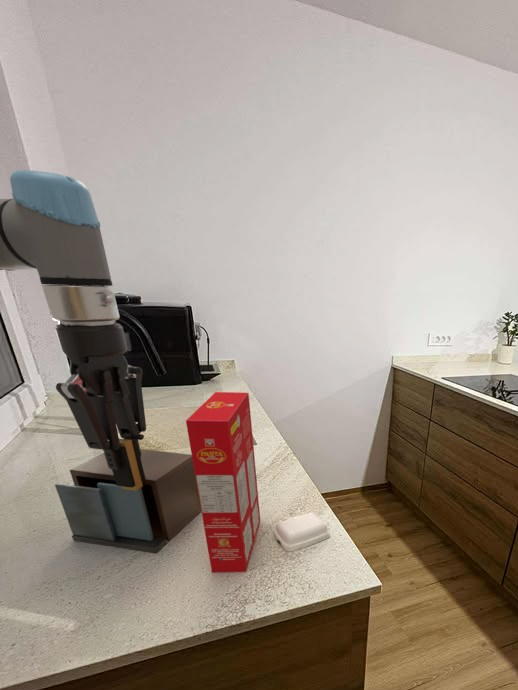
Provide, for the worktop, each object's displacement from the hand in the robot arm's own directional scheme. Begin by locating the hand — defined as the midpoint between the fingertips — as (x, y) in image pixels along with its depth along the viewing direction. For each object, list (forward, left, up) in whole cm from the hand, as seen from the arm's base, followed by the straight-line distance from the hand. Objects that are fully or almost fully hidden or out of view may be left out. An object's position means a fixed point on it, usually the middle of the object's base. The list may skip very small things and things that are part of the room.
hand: (131, 482), depth 61 cm
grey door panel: (-3, 0, -11) cm, 11 cm away
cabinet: (-5, +5, -12) cm, 14 cm away
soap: (+25, +9, -12) cm, 29 cm away
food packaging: (+15, +4, -12) cm, 20 cm away
